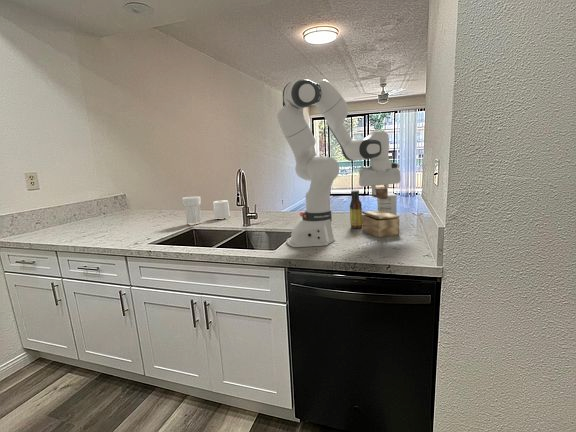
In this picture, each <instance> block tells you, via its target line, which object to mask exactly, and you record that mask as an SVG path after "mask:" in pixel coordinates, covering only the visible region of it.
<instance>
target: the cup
mask: <svg viewBox="0 0 576 432" xmlns="http://www.w3.org/2000/svg"><path fill="white" fill-rule="evenodd" d="M181 201H182V205H183V206H184V211H185V218H186V219H185V220H186V224H187V223H197V222H201V223H202V217H201V215H202V214H201V208H200V207H201V204H202V201H201V196H200V195H198V196H197V195H195V196H193V195H192V196H184V197H182V198H181Z"/></svg>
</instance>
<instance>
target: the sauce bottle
mask: <svg viewBox="0 0 576 432" xmlns="http://www.w3.org/2000/svg"><path fill="white" fill-rule="evenodd" d="M350 192H351V193H350V194H351V201H350V204H349V216H350V219H349V220H350V222H349V223H350V227H351V228H352V229H362V215H363V213H362V211H363V208H362V207H363V206H362V201H361V200H360V191H359V190H358V189H357V190H356V189H355V190H350Z"/></svg>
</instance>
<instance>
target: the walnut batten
mask: <svg viewBox="0 0 576 432" xmlns="http://www.w3.org/2000/svg"><path fill="white" fill-rule="evenodd" d="M375 190H376V191H378V195H374V194H373V190H372V189H371V197H372V198H375V199H376V198H379V199H388V194H389V193H388V190H389V189H385V188H384V187H380V186H376V188H375Z"/></svg>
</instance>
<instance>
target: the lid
mask: <svg viewBox="0 0 576 432" xmlns="http://www.w3.org/2000/svg"><path fill="white" fill-rule="evenodd" d="M365 214H366V215H368V216H371V217H373V218H376V219H388V218H399V219H400V215H394V214H391V213H388V212H385V211H378V210H370V211H369V210H368V211H365V210H362V215H365Z"/></svg>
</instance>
